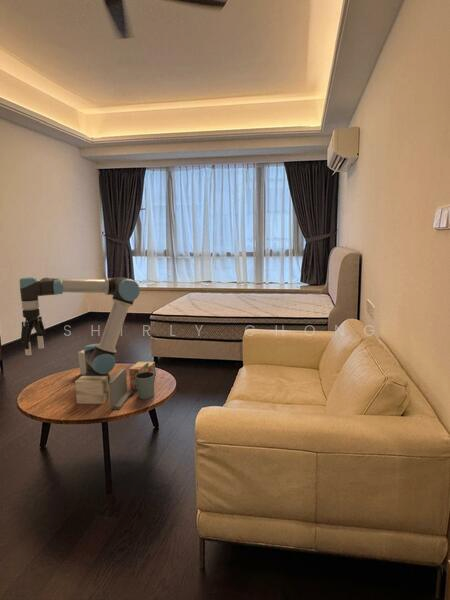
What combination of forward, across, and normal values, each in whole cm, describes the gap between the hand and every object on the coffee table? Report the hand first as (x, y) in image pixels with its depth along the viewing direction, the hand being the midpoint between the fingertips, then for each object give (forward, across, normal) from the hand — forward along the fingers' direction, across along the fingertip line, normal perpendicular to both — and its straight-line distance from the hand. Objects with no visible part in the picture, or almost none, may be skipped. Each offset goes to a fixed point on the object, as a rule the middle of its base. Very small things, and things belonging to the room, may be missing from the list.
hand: (35, 351), depth 195 cm
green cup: (+28, -11, +52) cm, 61 cm away
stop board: (+28, -5, +42) cm, 50 cm away
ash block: (+28, -5, +26) cm, 39 cm away
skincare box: (+28, -44, +6) cm, 53 cm away
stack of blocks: (+28, -31, +46) cm, 62 cm away
